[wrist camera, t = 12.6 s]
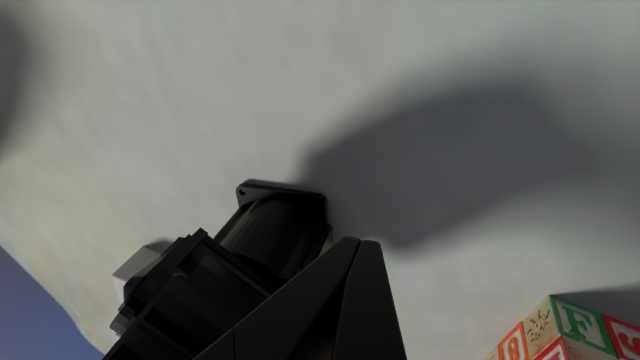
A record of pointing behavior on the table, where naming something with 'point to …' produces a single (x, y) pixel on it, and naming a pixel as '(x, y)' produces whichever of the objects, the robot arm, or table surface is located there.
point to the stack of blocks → (568, 335)
